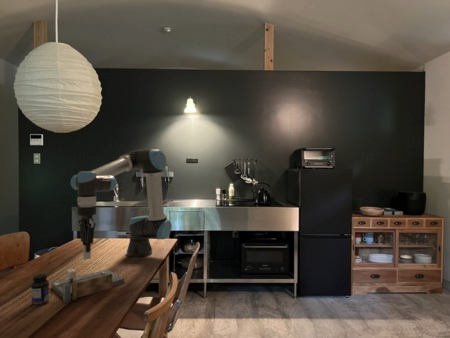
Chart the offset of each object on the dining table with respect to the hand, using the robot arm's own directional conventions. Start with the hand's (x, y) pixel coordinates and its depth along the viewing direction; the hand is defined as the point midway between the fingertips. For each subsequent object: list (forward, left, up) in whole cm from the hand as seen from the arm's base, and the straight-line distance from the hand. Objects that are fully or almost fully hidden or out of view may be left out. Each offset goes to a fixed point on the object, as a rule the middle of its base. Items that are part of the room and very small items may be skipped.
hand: (86, 258), depth 139 cm
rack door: (0, +7, -14) cm, 15 cm away
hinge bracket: (+11, +7, -14) cm, 19 cm away
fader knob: (+4, -8, -11) cm, 14 cm away
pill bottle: (+19, +1, -14) cm, 23 cm away
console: (-2, -4, -14) cm, 14 cm away
